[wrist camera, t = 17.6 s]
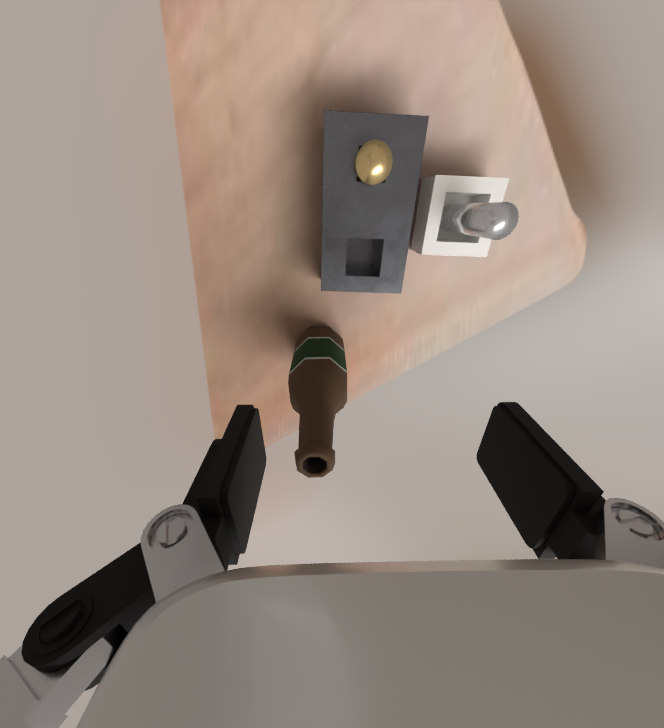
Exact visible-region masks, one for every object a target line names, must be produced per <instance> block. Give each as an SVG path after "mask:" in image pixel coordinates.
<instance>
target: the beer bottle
mask: <svg viewBox="0 0 664 728" xmlns="http://www.w3.org/2000/svg"><path fill="white" fill-rule="evenodd" d="M288 384H289V393H290V401H291V405H292V407H293V409H294V410H295V411H296V412H297V413H299V414H300V424H299V449H298V450H296V451H295V460H296V466H297V471H299V472H300V473H302V474H304V475H305V476H307V477H323V476H325V475H326V474H328V473H329V472H330V471H332V470H333V467H334V464H335V451H334V450H333V449H332V442H333V425H334V419H335V414H336V413H337V412H338V411H340V410H341V409H342V408H343V407H344V405H345V404H346V402H347V368H346V360H345V352H344V343H343V339H342V338H341V337H340V336H339V335H338V334H336V333H335V332H334V331H333V330H332V329H331V328H330V327H310V328H309V329H308V330H307V331H306V332H305V333H304V334H303V335H302V336H301V337H300V338H299V339H298V340H297V343H296V346H295V351H294V355H293V360H292V364H291V368H290V373H289V381H288Z"/></svg>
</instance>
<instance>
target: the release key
mask: <svg viewBox="0 0 664 728" xmlns="http://www.w3.org/2000/svg"><path fill="white" fill-rule="evenodd" d="M392 162H393V159H392V153H391V150H390V148H389V147H388V146H387V144H386V143H384V142H383V141H380V140H371V141H368V142H366V143H365V144H364V145H363V146H362V147H361V148H360V150H359V152H358V154H357V156H356V160H355V170H356V173H357V177H358V179H359V180H360V181H362V182H363V183H365V184H367V185H376V184H379V183H381V182H382V181H384V180H385V179H386V178H387V176H388V175H389V173H390V171H391V168H392Z"/></svg>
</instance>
